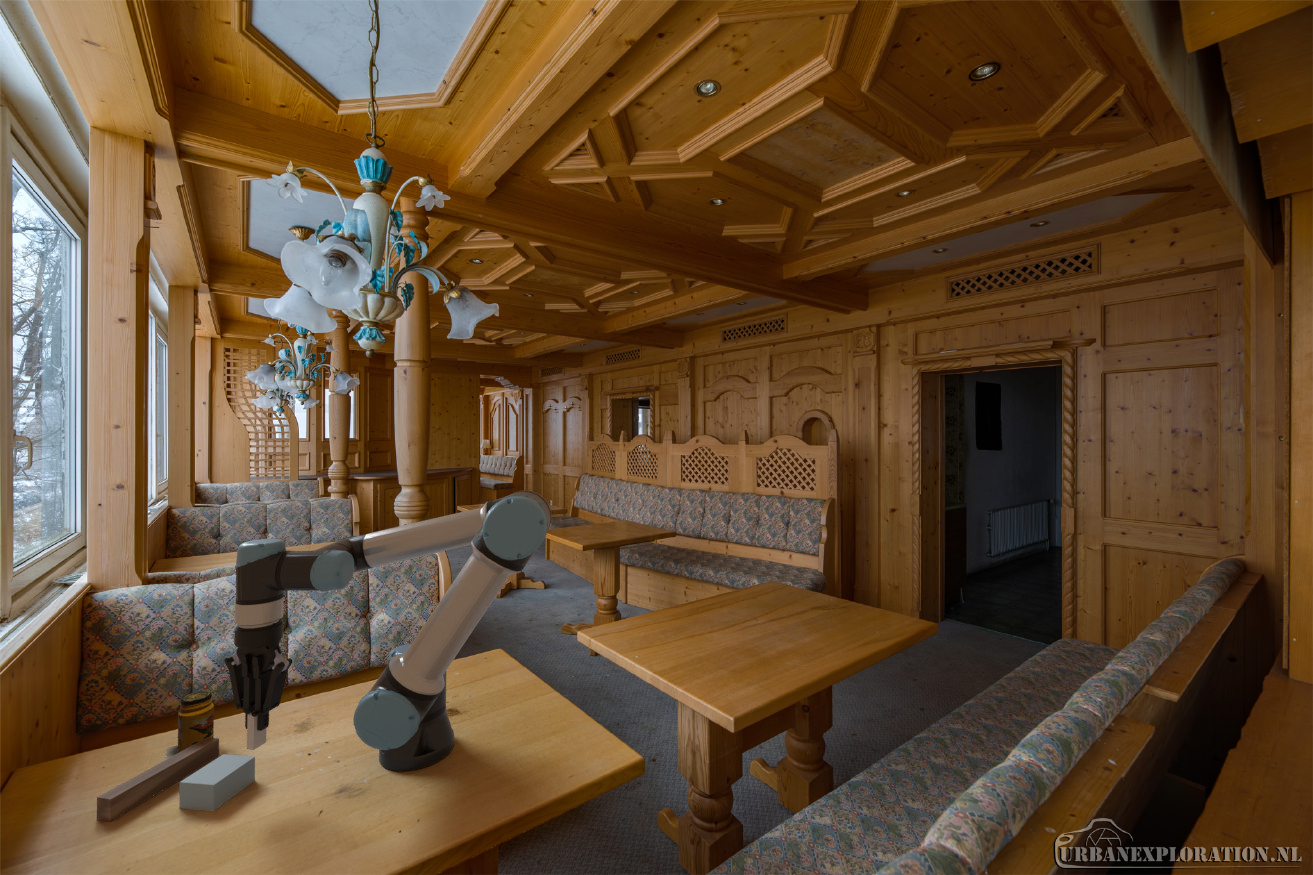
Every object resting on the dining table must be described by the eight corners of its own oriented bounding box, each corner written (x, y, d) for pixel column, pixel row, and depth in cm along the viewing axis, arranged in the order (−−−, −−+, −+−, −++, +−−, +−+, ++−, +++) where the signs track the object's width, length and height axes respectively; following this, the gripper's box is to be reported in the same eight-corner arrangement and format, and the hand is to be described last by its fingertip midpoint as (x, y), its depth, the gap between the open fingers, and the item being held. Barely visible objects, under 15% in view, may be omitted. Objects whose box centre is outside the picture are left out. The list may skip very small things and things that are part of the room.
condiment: (213, 752, 118) (213, 697, 118) (161, 765, 113) (162, 708, 114) (217, 737, 124) (218, 685, 124) (168, 748, 120) (169, 694, 120)
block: (254, 781, 109) (255, 756, 109) (213, 812, 100) (213, 784, 100) (223, 778, 109) (223, 754, 109) (179, 809, 100) (179, 782, 100)
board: (218, 757, 116) (219, 738, 116) (110, 821, 97) (110, 799, 97) (207, 755, 117) (207, 737, 117) (96, 819, 97) (96, 797, 97)
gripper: (305, 618, 106) (302, 738, 105) (248, 613, 108) (245, 731, 108) (271, 631, 98) (268, 761, 98) (211, 625, 101) (208, 752, 100)
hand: (256, 745), depth 103 cm, fingers closed
